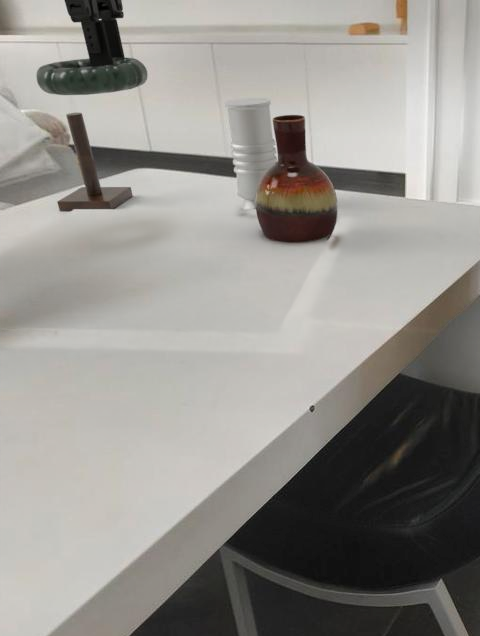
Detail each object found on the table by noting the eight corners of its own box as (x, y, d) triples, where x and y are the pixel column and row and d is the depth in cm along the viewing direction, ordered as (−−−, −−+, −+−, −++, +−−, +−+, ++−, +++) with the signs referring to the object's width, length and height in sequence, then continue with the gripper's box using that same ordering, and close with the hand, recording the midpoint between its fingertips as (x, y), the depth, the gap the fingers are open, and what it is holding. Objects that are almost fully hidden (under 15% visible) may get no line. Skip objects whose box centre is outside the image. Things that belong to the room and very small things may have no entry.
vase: (266, 229, 100) (252, 111, 91) (341, 227, 100) (335, 108, 91) (254, 255, 92) (237, 127, 82) (336, 253, 91) (328, 124, 82)
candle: (287, 201, 112) (277, 97, 103) (273, 213, 107) (261, 105, 98) (248, 199, 114) (235, 97, 105) (232, 211, 108) (216, 105, 99)
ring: (20, 97, 83) (11, 71, 81) (72, 81, 93) (65, 57, 91) (122, 95, 81) (116, 68, 79) (164, 79, 91) (159, 54, 89)
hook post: (59, 210, 113) (32, 119, 104) (84, 196, 120) (60, 109, 112) (111, 210, 112) (88, 118, 103) (132, 195, 119) (113, 108, 110)
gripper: (53, -175, 70) (112, 88, 84) (120, -155, 82) (161, 71, 96) (-15, -170, 71) (55, 89, 85) (62, -150, 83) (112, 72, 98)
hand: (112, 79), depth 91 cm, fingers closed on ring, 3 cm apart
